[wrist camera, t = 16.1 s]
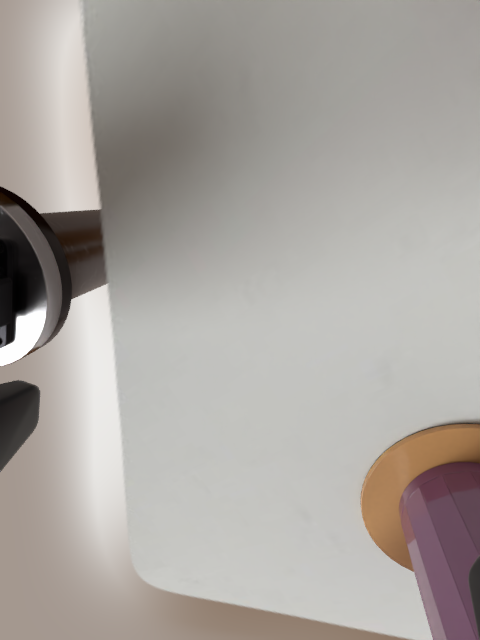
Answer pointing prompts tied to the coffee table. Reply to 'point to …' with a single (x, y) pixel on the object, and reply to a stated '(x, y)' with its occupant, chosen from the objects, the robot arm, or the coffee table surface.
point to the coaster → (410, 479)
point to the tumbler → (444, 544)
